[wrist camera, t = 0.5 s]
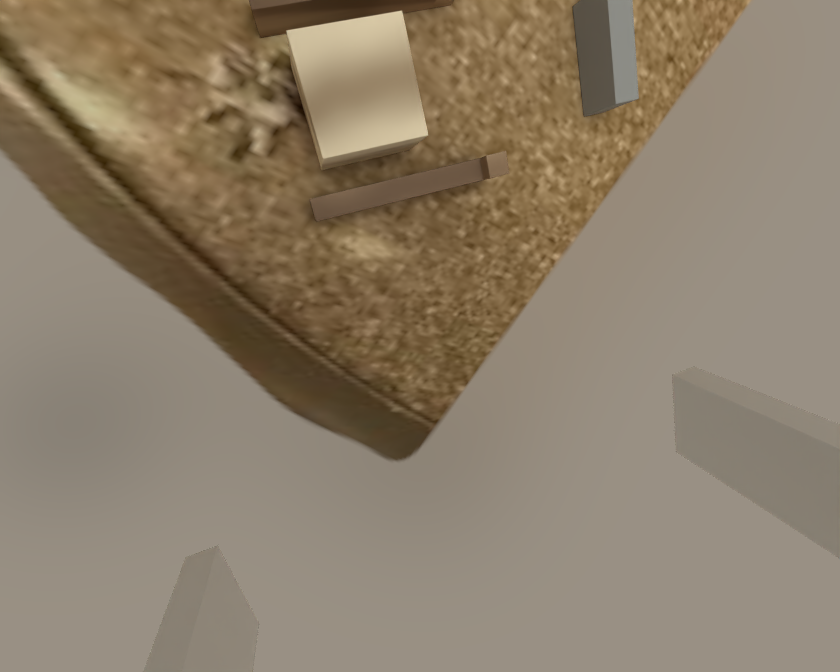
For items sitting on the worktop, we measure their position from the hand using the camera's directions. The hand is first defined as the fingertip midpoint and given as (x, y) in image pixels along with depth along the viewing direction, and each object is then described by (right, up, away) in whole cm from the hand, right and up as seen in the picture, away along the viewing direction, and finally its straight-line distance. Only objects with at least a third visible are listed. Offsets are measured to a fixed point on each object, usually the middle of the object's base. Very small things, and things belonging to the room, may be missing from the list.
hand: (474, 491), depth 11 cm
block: (-7, +21, +20) cm, 30 cm away
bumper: (+12, +27, +23) cm, 37 cm away
